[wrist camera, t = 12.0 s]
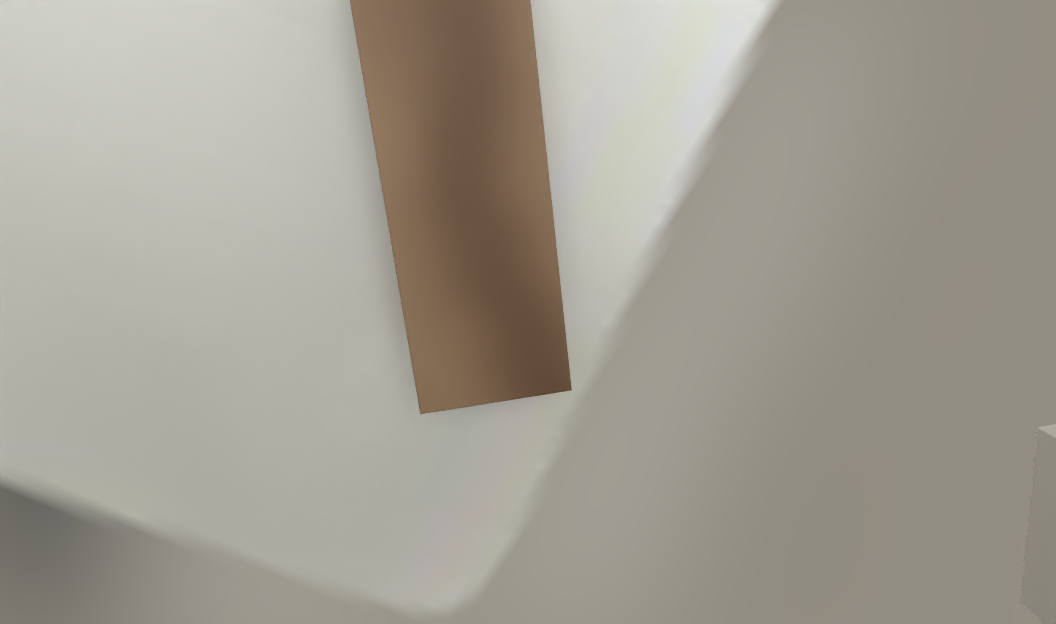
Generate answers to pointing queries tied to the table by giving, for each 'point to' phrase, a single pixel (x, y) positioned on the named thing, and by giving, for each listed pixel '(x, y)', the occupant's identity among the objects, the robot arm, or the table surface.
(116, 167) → the table surface
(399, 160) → the walnut block
